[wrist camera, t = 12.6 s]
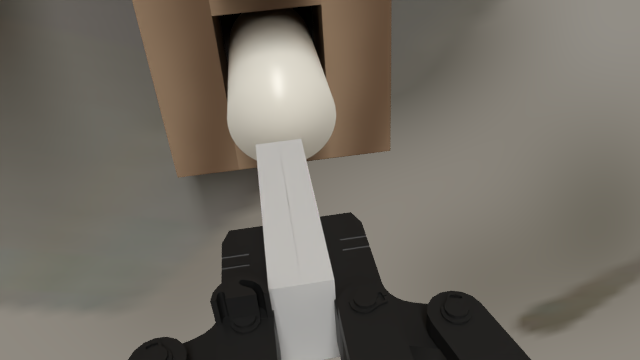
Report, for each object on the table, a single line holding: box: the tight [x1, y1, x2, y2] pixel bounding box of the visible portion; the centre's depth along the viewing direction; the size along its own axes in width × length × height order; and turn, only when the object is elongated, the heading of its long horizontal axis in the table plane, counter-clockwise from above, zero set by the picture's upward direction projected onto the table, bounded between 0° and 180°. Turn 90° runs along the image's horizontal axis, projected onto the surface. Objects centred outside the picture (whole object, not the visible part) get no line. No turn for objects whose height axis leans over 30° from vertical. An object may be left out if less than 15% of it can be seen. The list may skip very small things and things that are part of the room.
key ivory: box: [227, 8, 336, 160], centre depth 25 cm, size 4×4×9 cm
